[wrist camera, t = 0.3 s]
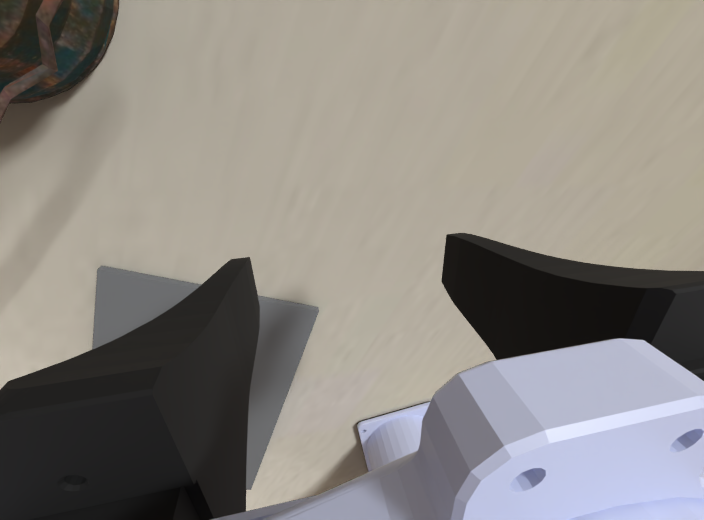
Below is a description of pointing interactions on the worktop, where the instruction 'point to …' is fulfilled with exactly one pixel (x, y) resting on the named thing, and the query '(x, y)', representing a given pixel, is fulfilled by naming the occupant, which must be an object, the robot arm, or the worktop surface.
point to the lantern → (50, 45)
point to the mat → (271, 354)
